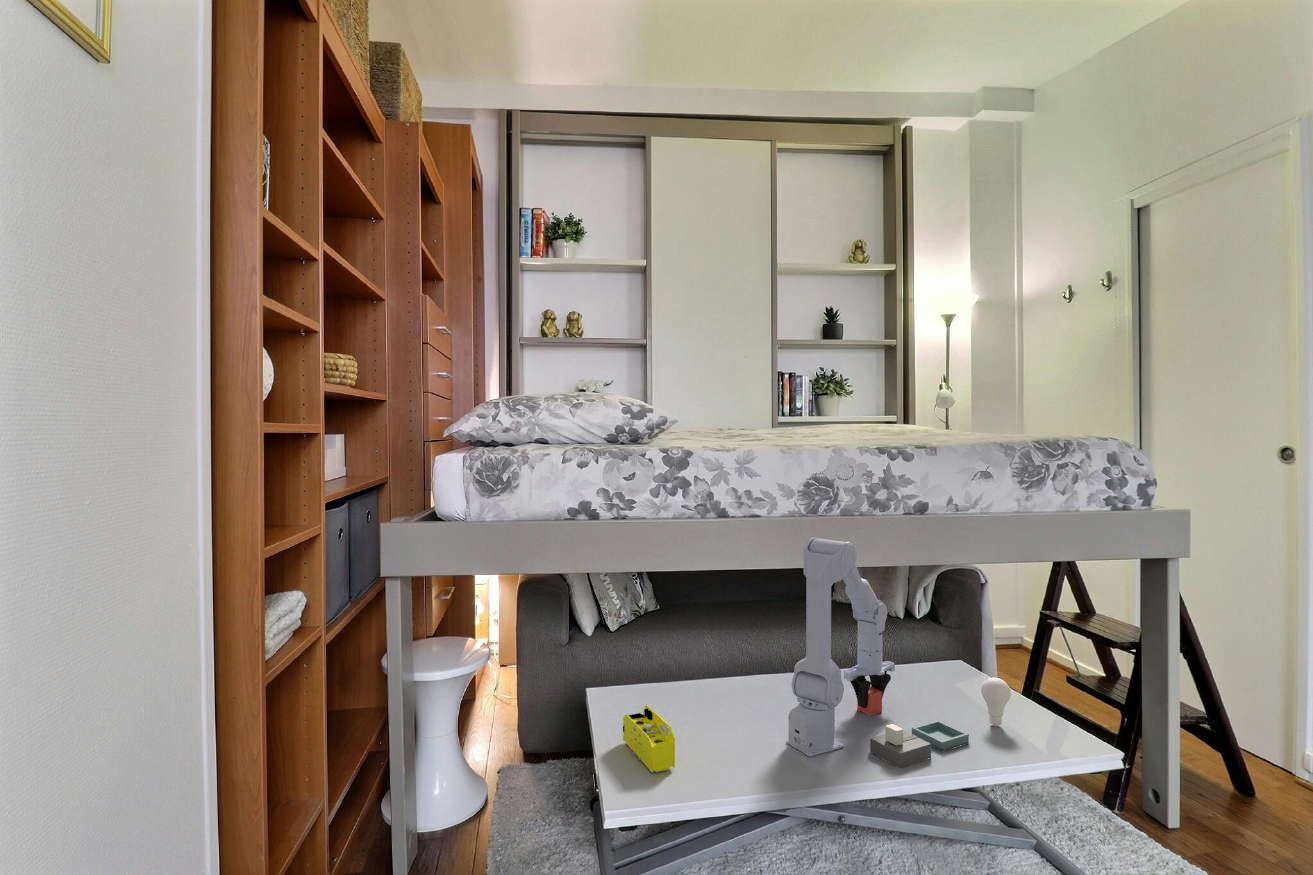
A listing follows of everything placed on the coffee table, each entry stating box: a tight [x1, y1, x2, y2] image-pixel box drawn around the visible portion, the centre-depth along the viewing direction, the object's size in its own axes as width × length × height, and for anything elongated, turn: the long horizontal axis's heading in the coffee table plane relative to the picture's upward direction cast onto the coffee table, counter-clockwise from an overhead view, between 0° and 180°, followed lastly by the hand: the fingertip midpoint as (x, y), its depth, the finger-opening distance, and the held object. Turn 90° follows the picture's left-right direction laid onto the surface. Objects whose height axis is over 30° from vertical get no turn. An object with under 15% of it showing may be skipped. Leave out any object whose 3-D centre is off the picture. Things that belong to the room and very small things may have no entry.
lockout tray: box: [911, 720, 970, 752], centre depth 158 cm, size 8×8×2 cm
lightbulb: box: [980, 676, 1012, 727], centre depth 165 cm, size 6×6×11 cm
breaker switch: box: [884, 723, 904, 746], centre depth 150 cm, size 2×3×3 cm, turn 28°
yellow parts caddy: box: [622, 704, 676, 773], centre depth 150 cm, size 16×6×8 cm, turn 24°
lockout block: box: [856, 685, 883, 716], centre depth 173 cm, size 4×4×5 cm
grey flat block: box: [869, 729, 932, 769], centre depth 151 cm, size 9×8×3 cm
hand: (869, 704), depth 173 cm, fingers closed on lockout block, 4 cm apart
